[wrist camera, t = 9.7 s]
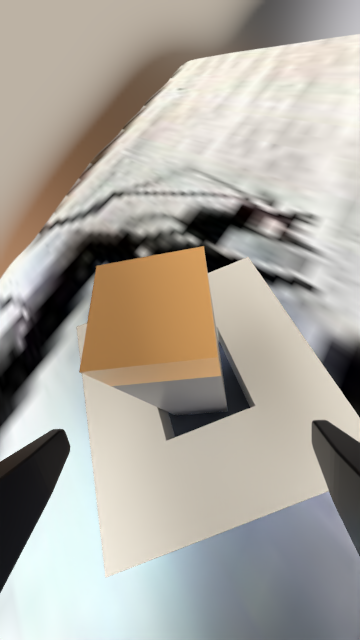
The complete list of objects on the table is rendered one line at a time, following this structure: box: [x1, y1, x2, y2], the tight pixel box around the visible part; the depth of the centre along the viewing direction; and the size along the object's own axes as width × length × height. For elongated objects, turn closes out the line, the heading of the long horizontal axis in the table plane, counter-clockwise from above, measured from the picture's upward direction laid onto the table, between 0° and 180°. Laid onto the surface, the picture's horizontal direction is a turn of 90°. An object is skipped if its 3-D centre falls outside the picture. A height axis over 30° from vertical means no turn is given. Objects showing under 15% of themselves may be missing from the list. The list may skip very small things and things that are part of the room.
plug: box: [79, 246, 228, 415], centre depth 13 cm, size 4×4×13 cm
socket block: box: [77, 257, 360, 577], centre depth 17 cm, size 16×16×3 cm
